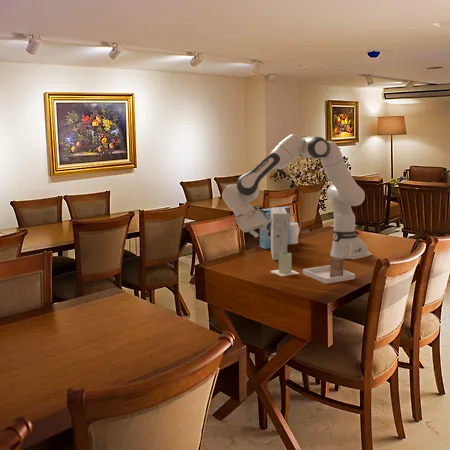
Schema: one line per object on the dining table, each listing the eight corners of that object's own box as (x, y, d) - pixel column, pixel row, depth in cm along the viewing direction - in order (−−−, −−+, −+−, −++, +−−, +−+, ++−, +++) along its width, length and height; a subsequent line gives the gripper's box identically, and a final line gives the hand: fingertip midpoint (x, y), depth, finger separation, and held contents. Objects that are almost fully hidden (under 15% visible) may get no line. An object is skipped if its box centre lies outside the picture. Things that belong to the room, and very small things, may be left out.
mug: (294, 239, 315) (295, 221, 313) (304, 242, 308) (305, 222, 306) (281, 242, 308) (281, 223, 306) (291, 244, 301) (291, 225, 299)
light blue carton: (284, 243, 305) (285, 206, 301) (290, 244, 301) (290, 207, 297) (259, 247, 295) (259, 209, 290) (264, 249, 290) (264, 210, 286)
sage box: (283, 270, 242) (283, 251, 241) (291, 271, 240) (291, 252, 238) (278, 272, 239) (278, 253, 237) (287, 273, 236) (287, 254, 235)
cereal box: (287, 260, 265) (287, 213, 261) (272, 260, 266) (273, 213, 261) (284, 250, 287) (284, 207, 282) (270, 250, 287) (270, 207, 282)
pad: (288, 270, 246) (288, 268, 246) (299, 275, 237) (299, 273, 237) (270, 272, 242) (270, 270, 242) (281, 278, 233) (281, 275, 233)
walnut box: (333, 275, 233) (334, 256, 231) (343, 277, 230) (343, 258, 229) (329, 278, 229) (330, 258, 228) (339, 279, 227) (339, 260, 225)
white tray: (330, 271, 244) (330, 265, 243) (354, 280, 228) (355, 274, 227) (302, 275, 237) (302, 269, 236) (326, 285, 221) (326, 278, 220)
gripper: (237, 212, 237) (255, 234, 233) (259, 206, 253) (276, 227, 250) (229, 220, 240) (247, 242, 236) (251, 214, 257) (268, 235, 253)
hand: (262, 234), depth 243 cm, fingers open, 8 cm apart
